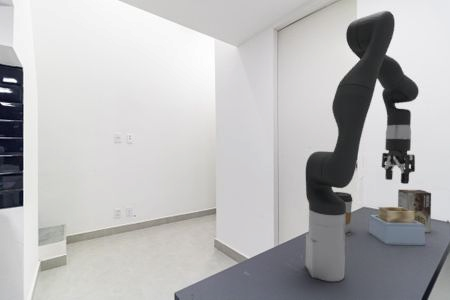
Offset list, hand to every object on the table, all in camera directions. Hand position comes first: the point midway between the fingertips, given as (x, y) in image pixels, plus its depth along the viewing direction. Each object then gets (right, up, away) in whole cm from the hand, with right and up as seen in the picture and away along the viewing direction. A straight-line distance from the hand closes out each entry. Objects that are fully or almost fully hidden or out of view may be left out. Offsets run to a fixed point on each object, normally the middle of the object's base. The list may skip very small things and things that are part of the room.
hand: (396, 181), depth 88 cm
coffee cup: (-17, -21, +8) cm, 28 cm away
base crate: (0, -21, +1) cm, 21 cm away
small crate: (0, -15, 0) cm, 15 cm away
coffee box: (+14, -22, +10) cm, 28 cm away
